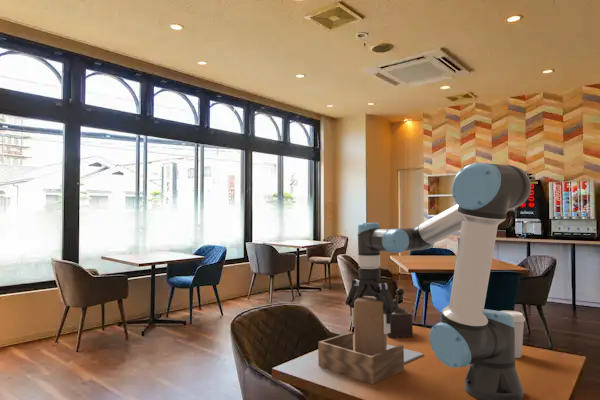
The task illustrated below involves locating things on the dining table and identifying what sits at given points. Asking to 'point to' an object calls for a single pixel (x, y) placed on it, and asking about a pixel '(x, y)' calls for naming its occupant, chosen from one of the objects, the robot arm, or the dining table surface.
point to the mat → (408, 354)
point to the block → (369, 326)
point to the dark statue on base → (400, 320)
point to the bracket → (359, 359)
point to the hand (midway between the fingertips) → (370, 329)
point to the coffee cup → (517, 331)
